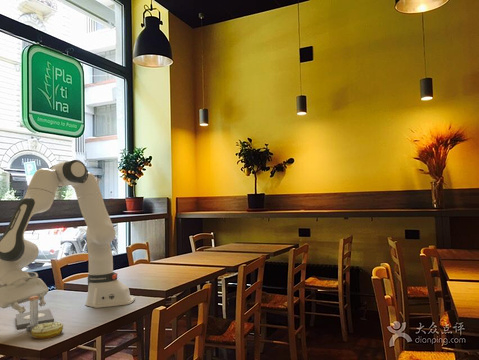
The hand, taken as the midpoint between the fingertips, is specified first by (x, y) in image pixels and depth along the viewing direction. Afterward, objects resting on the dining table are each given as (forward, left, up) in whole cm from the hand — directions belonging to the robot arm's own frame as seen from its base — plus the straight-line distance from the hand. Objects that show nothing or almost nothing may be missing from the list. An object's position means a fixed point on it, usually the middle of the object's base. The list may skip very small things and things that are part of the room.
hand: (33, 308), depth 149 cm
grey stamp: (0, 0, -8) cm, 8 cm away
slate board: (+5, -13, -8) cm, 16 cm away
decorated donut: (-8, +7, -8) cm, 13 cm away
